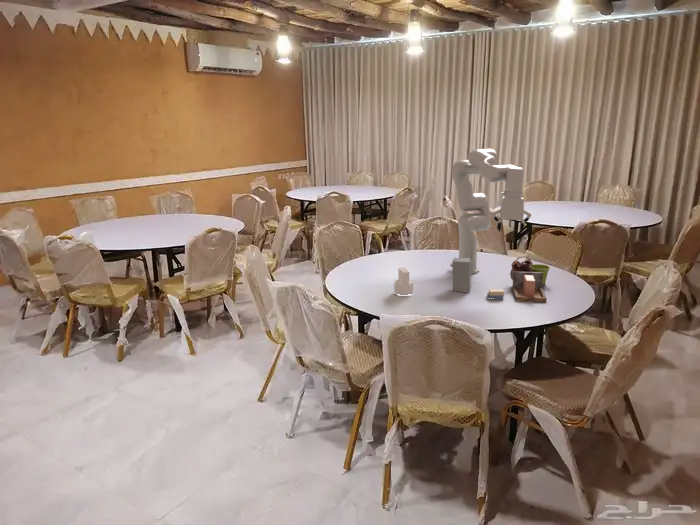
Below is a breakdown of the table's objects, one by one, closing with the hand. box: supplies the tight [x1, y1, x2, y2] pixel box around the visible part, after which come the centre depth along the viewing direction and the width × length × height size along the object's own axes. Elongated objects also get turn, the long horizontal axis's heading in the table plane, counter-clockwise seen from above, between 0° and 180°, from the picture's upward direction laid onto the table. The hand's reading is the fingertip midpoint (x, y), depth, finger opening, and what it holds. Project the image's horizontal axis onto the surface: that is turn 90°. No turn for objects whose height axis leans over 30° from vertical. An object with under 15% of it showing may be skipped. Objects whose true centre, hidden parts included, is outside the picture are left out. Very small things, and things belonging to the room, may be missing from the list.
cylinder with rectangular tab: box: [393, 266, 414, 295], centre depth 242 cm, size 9×9×12 cm
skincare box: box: [451, 257, 472, 293], centre depth 244 cm, size 8×7×16 cm
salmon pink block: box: [523, 275, 535, 297], centre depth 236 cm, size 4×9×8 cm, turn 167°
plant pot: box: [530, 263, 551, 285], centre depth 253 cm, size 9×9×9 cm
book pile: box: [486, 288, 505, 300], centre depth 234 cm, size 7×4×4 cm, turn 78°
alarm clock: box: [509, 256, 534, 281], centre depth 249 cm, size 11×5×15 cm, turn 100°
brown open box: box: [511, 271, 548, 303], centre depth 235 cm, size 13×17×9 cm
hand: (510, 231), depth 235 cm, fingers open, 9 cm apart
